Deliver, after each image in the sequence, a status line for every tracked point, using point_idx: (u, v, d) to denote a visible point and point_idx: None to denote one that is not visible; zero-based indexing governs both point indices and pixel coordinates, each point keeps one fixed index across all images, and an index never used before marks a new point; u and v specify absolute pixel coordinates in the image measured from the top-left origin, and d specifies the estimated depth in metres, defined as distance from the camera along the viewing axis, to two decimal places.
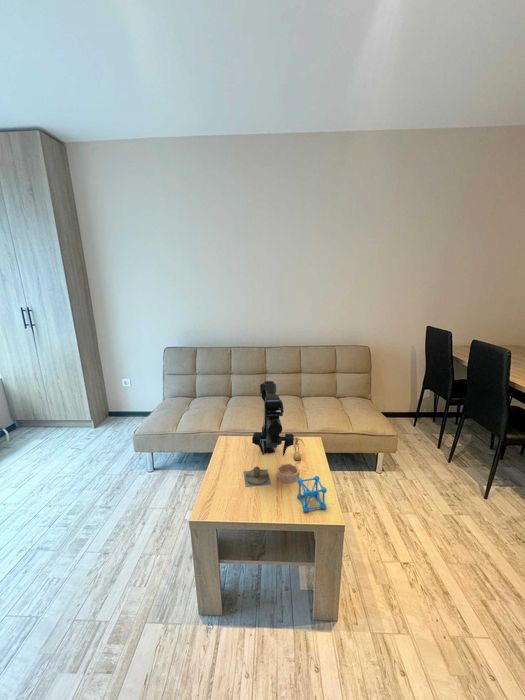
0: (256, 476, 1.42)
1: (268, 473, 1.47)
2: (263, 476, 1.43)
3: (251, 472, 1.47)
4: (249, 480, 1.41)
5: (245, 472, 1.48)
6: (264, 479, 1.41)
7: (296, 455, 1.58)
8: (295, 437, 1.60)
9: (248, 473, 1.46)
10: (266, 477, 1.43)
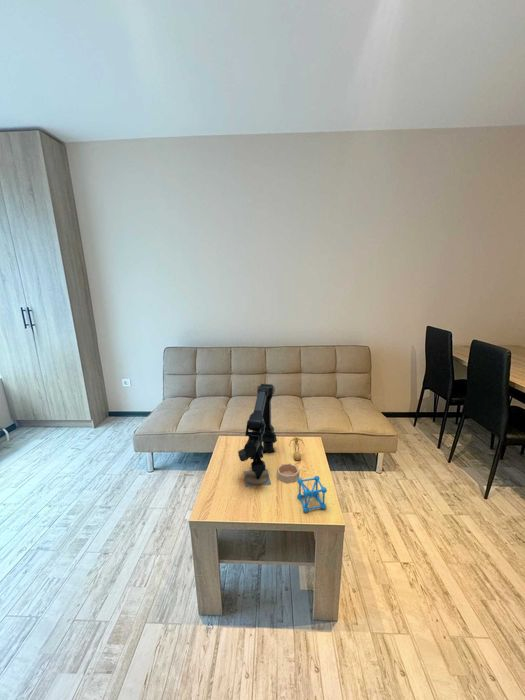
0: None
1: (268, 473, 1.47)
2: (263, 476, 1.43)
3: (251, 472, 1.47)
4: (249, 480, 1.41)
5: (245, 472, 1.48)
6: (264, 479, 1.41)
7: (296, 455, 1.58)
8: (295, 437, 1.60)
9: (248, 473, 1.46)
10: (266, 477, 1.43)
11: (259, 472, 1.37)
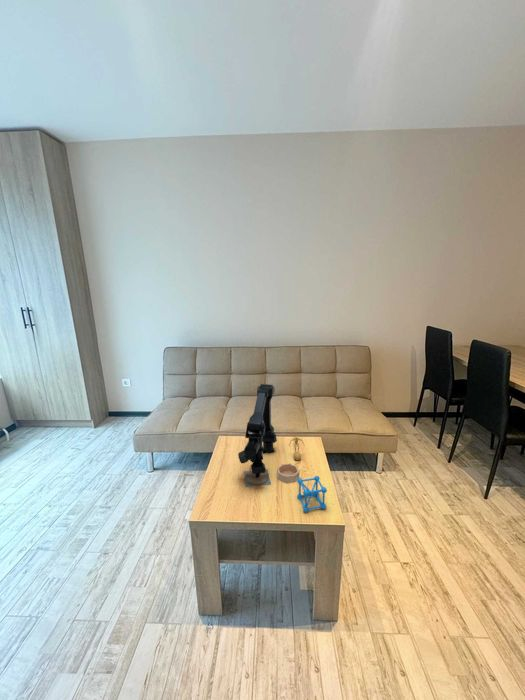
0: None
1: (268, 473, 1.47)
2: (263, 476, 1.43)
3: (251, 472, 1.47)
4: (249, 480, 1.41)
5: (245, 472, 1.48)
6: (264, 479, 1.41)
7: (296, 455, 1.58)
8: (295, 437, 1.60)
9: (248, 473, 1.46)
10: (266, 477, 1.43)
11: None
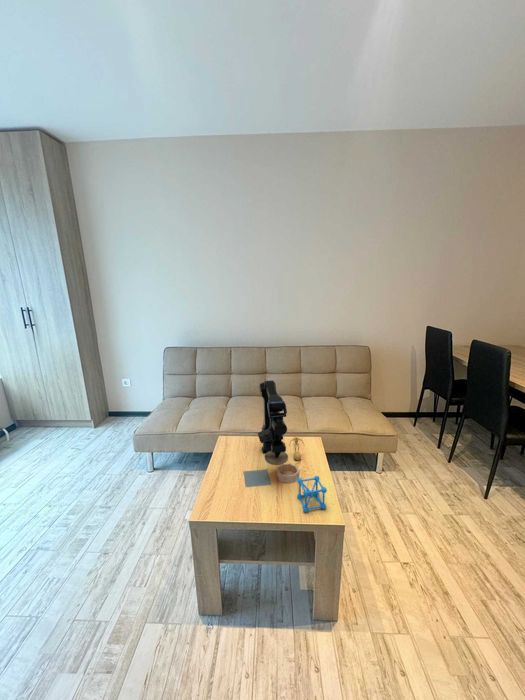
0: None
1: (268, 473, 1.47)
2: (283, 457, 1.41)
3: (270, 453, 1.45)
4: (268, 460, 1.39)
5: (245, 472, 1.48)
6: (284, 459, 1.39)
7: (296, 455, 1.58)
8: (295, 437, 1.60)
9: (267, 453, 1.44)
10: (286, 457, 1.41)
11: None
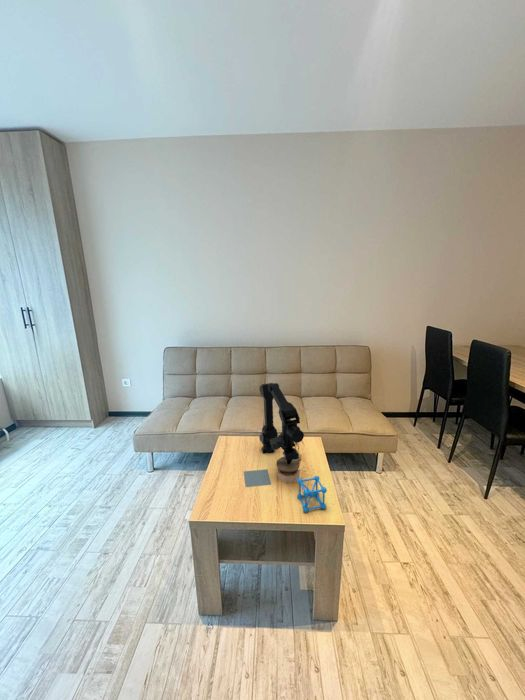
0: None
1: (268, 473, 1.47)
2: (294, 463, 1.43)
3: (281, 459, 1.46)
4: (280, 466, 1.41)
5: (245, 472, 1.48)
6: (296, 466, 1.41)
7: None
8: None
9: (279, 460, 1.46)
10: (297, 464, 1.42)
11: None
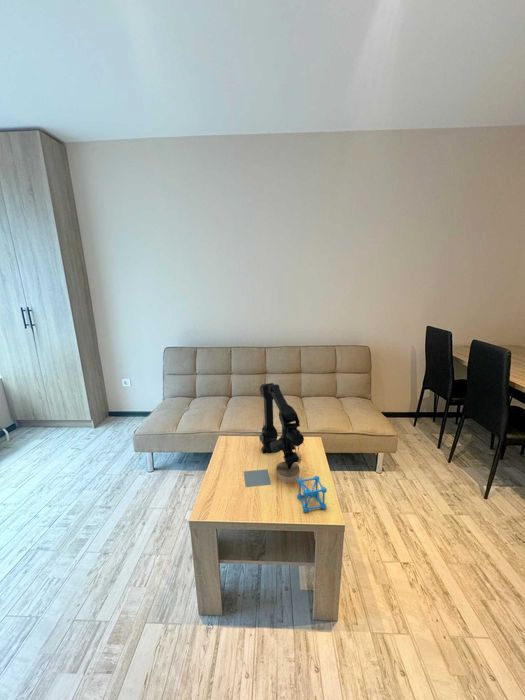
0: (287, 468, 1.43)
1: (268, 473, 1.47)
2: (294, 468, 1.43)
3: (281, 464, 1.47)
4: (280, 471, 1.41)
5: (245, 472, 1.48)
6: (296, 471, 1.41)
7: None
8: None
9: (279, 465, 1.46)
10: (297, 469, 1.43)
11: None
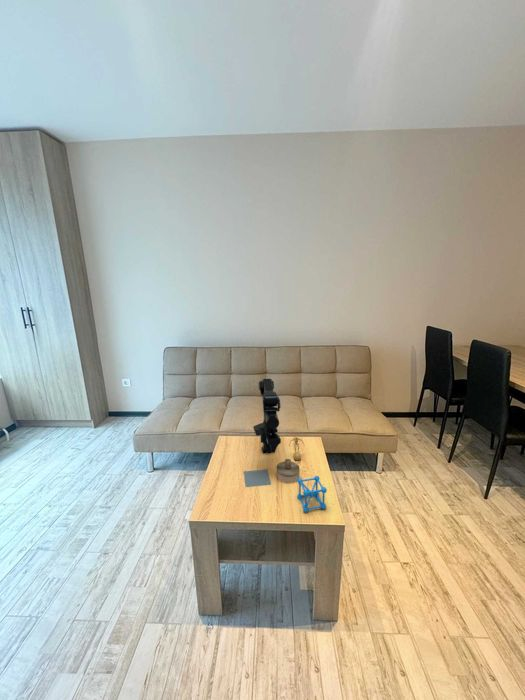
0: (287, 468, 1.43)
1: (268, 473, 1.47)
2: (294, 468, 1.43)
3: (281, 464, 1.47)
4: (280, 471, 1.41)
5: (245, 472, 1.48)
6: (296, 471, 1.41)
7: (296, 455, 1.58)
8: (295, 437, 1.60)
9: (279, 465, 1.46)
10: (297, 469, 1.43)
11: (274, 446, 1.43)
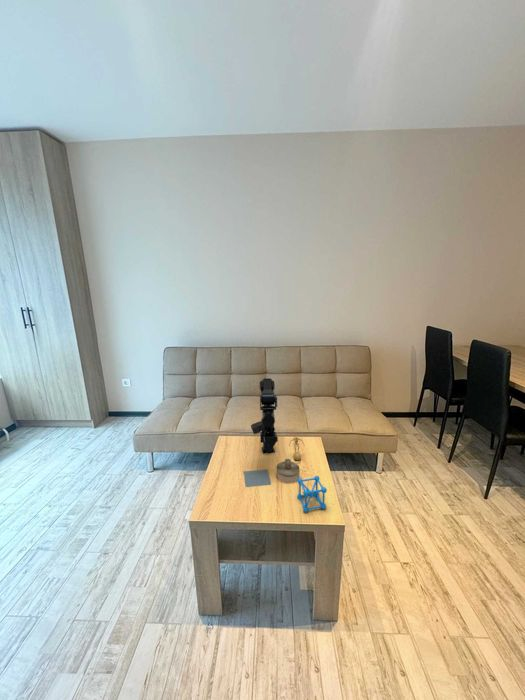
0: (287, 468, 1.43)
1: (268, 473, 1.47)
2: (294, 468, 1.43)
3: (281, 464, 1.47)
4: (280, 471, 1.41)
5: (245, 472, 1.48)
6: (296, 471, 1.41)
7: (296, 455, 1.58)
8: (295, 437, 1.60)
9: (279, 465, 1.46)
10: (297, 469, 1.43)
11: (271, 444, 1.44)
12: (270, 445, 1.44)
